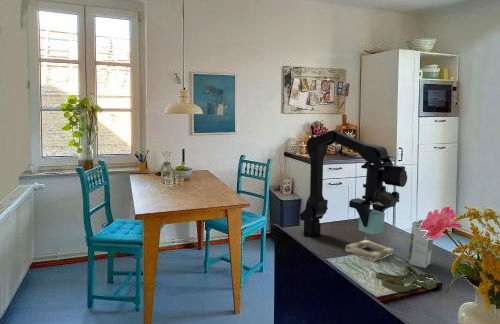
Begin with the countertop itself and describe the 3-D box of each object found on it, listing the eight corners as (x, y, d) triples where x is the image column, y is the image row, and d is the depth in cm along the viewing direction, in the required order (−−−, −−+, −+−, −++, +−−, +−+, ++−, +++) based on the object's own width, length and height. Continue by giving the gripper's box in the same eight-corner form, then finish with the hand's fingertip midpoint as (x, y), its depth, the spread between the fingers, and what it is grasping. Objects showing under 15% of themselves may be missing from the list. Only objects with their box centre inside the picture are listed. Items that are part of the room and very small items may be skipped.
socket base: (372, 261, 126) (373, 254, 126) (342, 249, 137) (342, 242, 136) (395, 254, 134) (396, 247, 133) (365, 243, 144) (366, 236, 144)
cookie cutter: (412, 270, 121) (412, 264, 120) (445, 286, 110) (446, 279, 110) (369, 279, 113) (370, 273, 113) (401, 298, 102) (401, 291, 102)
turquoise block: (372, 234, 129) (373, 215, 128) (358, 230, 134) (359, 211, 133) (383, 232, 132) (384, 212, 131) (369, 227, 137) (370, 208, 136)
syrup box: (412, 259, 129) (416, 218, 127) (431, 263, 126) (435, 221, 124) (407, 263, 125) (411, 221, 123) (426, 268, 121) (430, 225, 119)
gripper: (377, 189, 119) (373, 236, 121) (410, 184, 130) (407, 227, 132) (349, 182, 128) (346, 227, 130) (383, 178, 139) (380, 219, 141)
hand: (371, 225), depth 133 cm, fingers closed on turquoise block, 6 cm apart
